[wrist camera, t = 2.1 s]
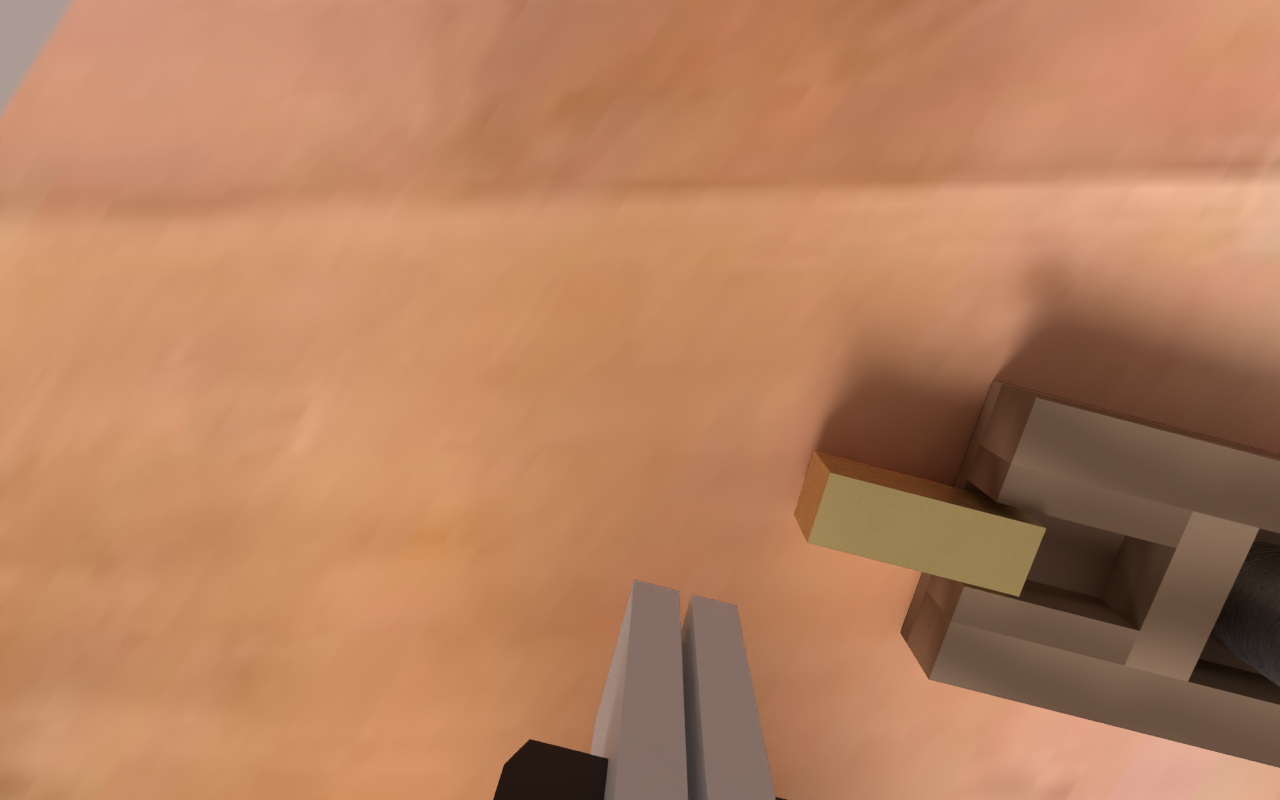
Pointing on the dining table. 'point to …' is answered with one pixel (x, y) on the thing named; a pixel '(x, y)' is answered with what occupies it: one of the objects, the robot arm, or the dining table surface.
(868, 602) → the dining table surface
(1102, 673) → the socket block
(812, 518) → the bar
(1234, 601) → the metal round-nosed cylinder
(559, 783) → the robot arm
